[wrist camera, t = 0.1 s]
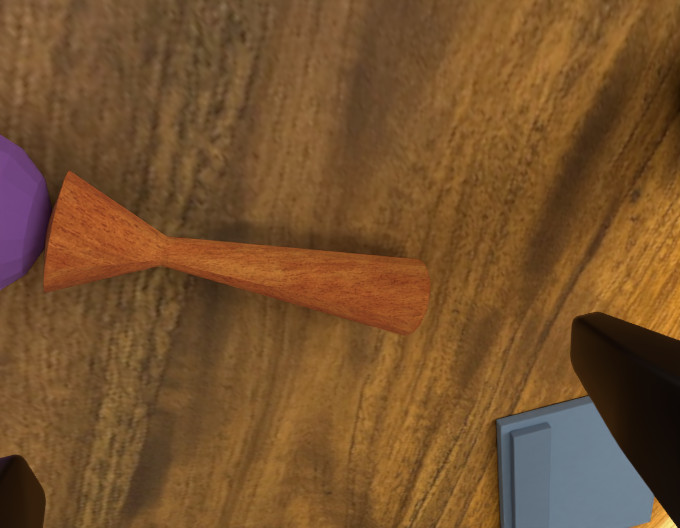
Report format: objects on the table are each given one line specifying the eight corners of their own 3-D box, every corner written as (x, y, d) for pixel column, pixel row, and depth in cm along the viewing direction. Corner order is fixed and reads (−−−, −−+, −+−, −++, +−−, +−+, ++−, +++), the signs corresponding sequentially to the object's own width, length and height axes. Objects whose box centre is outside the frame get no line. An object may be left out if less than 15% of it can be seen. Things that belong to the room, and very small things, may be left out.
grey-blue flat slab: (644, 514, 37) (655, 528, 36) (501, 554, 37) (508, 569, 36) (665, 375, 32) (679, 388, 31) (495, 419, 31) (504, 433, 30)
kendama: (398, 396, 24) (-211, 329, 16) (366, 300, 28) (-120, 213, 21) (467, 291, 20) (-251, 148, 13) (420, 202, 25) (-133, 58, 18)
